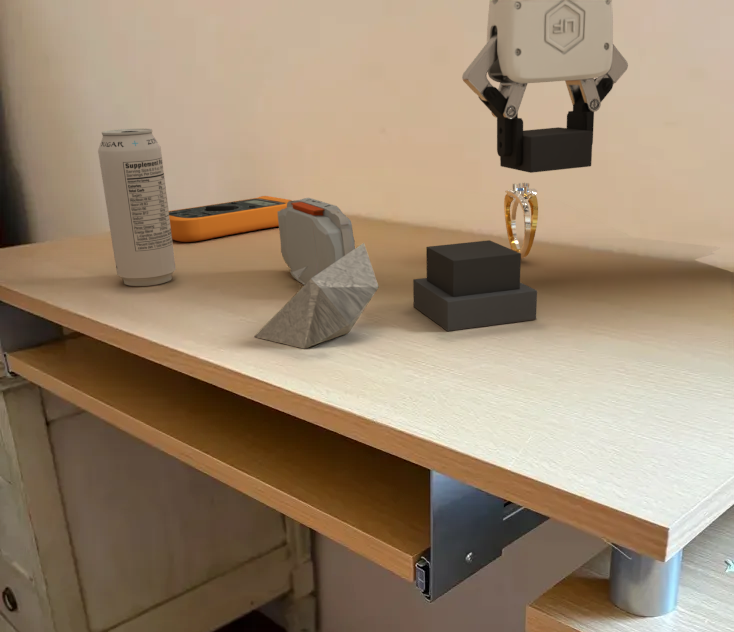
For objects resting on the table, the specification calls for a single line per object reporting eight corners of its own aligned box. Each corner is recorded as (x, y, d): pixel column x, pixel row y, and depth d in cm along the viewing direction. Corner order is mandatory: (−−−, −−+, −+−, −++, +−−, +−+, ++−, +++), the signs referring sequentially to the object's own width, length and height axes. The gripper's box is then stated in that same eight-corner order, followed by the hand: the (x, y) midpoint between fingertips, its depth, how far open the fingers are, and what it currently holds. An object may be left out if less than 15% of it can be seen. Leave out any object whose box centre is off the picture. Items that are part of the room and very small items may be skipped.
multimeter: (152, 237, 109) (148, 210, 108) (266, 218, 120) (264, 193, 119) (183, 245, 103) (180, 218, 102) (300, 224, 114) (299, 199, 112)
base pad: (494, 296, 76) (495, 269, 75) (536, 319, 69) (537, 290, 68) (413, 306, 74) (412, 279, 73) (447, 331, 67) (447, 301, 66)
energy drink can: (156, 270, 91) (136, 127, 85) (188, 278, 87) (170, 129, 81) (107, 282, 87) (83, 132, 81) (138, 290, 83) (116, 134, 77)
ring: (497, 252, 93) (498, 179, 90) (525, 251, 93) (527, 178, 90) (512, 266, 87) (514, 188, 84) (542, 264, 87) (545, 187, 84)
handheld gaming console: (361, 296, 78) (357, 210, 75) (333, 301, 77) (328, 214, 74) (301, 267, 90) (296, 192, 87) (276, 271, 89) (270, 195, 86)
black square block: (489, 273, 74) (489, 240, 73) (519, 289, 69) (521, 253, 68) (426, 280, 73) (426, 246, 71) (453, 297, 67) (453, 260, 66)
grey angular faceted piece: (270, 348, 61) (217, 292, 67) (306, 396, 66) (253, 340, 72) (393, 246, 62) (330, 200, 68) (420, 301, 67) (358, 254, 73)
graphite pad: (557, 160, 79) (558, 127, 77) (591, 166, 73) (593, 130, 72) (500, 166, 77) (500, 132, 76) (530, 173, 72) (530, 136, 71)
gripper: (471, -71, 63) (474, 174, 69) (668, -76, 67) (652, 156, 74) (434, -56, 69) (440, 166, 76) (616, -62, 74) (605, 149, 80)
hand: (544, 159), depth 75 cm, fingers closed on graphite pad, 6 cm apart
